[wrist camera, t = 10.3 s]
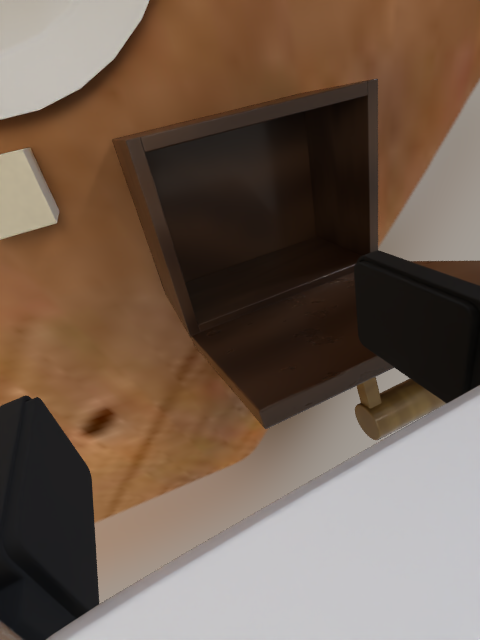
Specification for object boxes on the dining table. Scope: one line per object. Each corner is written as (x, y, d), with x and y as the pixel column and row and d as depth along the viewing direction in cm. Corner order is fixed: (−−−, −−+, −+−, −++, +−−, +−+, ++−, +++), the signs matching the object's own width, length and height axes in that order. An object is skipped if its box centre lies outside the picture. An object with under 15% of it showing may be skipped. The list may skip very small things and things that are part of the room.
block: (-41, 163, 24) (-62, 168, 20) (30, 147, 25) (22, 149, 21) (-4, 229, 26) (-17, 244, 23) (59, 211, 27) (57, 223, 24)
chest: (111, 139, 27) (125, 140, 19) (305, 92, 30) (378, 78, 23) (165, 294, 33) (190, 338, 26) (318, 239, 37) (378, 264, 30)
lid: (258, 410, 13) (298, 528, 14) (585, 259, 16) (593, 361, 18) (190, 335, 26) (213, 399, 27) (380, 261, 29) (393, 320, 31)
